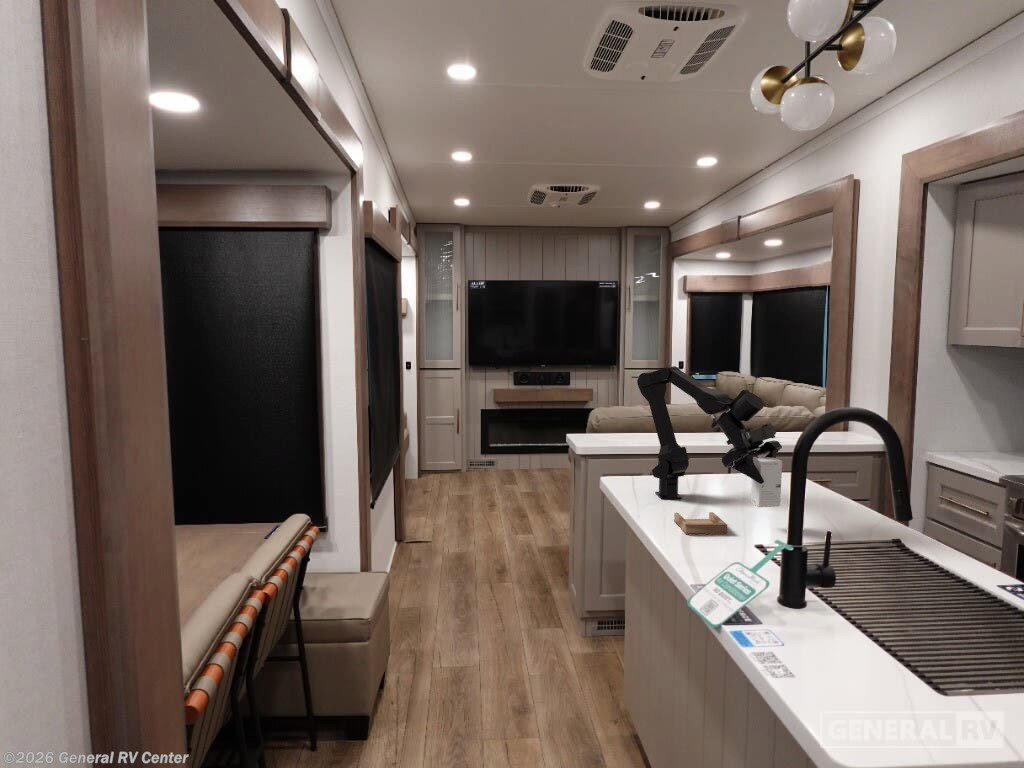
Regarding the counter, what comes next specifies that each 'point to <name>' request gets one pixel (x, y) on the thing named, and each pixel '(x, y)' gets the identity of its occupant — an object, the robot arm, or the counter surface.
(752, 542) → the counter surface
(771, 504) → the skincare box
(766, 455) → the robot arm
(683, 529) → the tray
